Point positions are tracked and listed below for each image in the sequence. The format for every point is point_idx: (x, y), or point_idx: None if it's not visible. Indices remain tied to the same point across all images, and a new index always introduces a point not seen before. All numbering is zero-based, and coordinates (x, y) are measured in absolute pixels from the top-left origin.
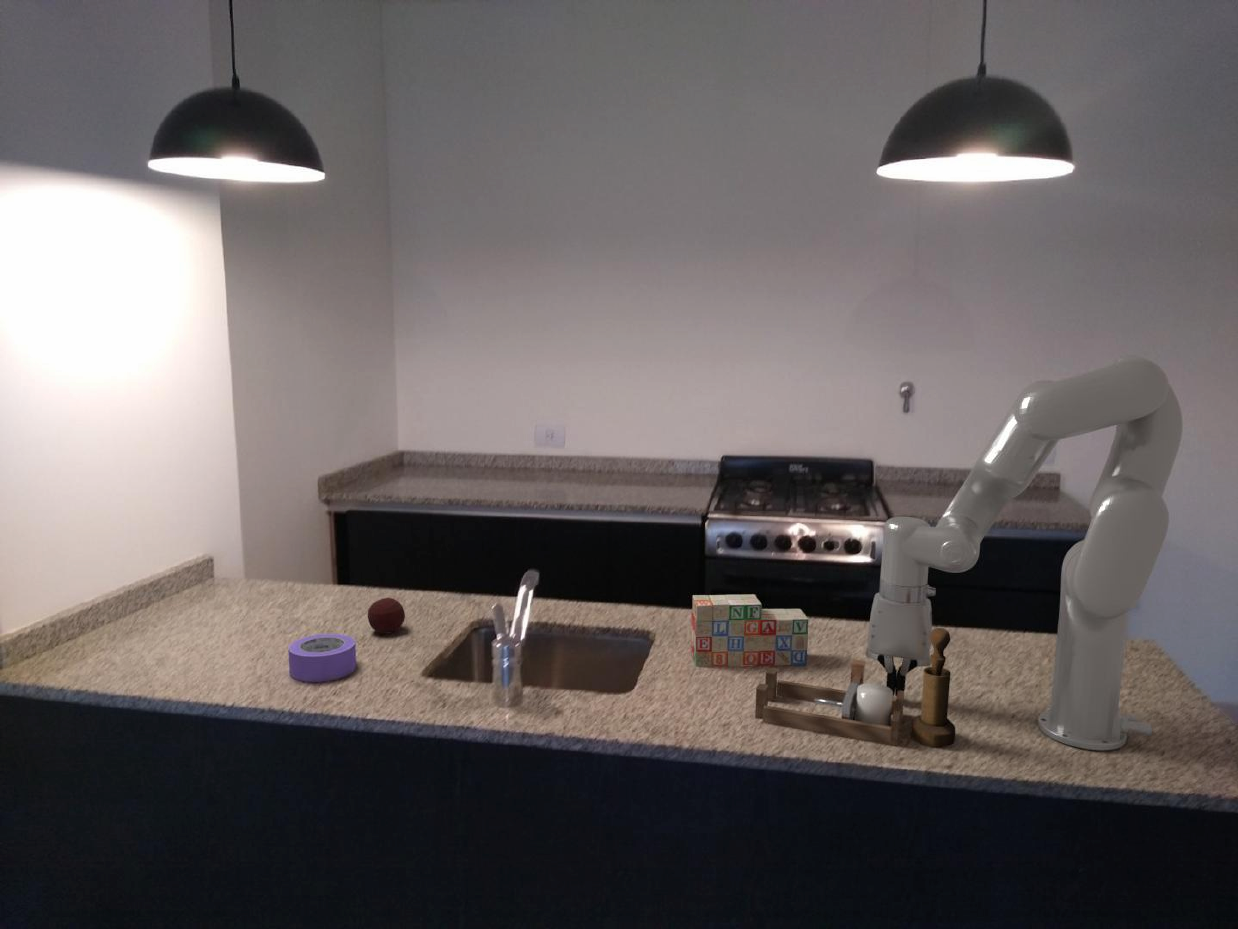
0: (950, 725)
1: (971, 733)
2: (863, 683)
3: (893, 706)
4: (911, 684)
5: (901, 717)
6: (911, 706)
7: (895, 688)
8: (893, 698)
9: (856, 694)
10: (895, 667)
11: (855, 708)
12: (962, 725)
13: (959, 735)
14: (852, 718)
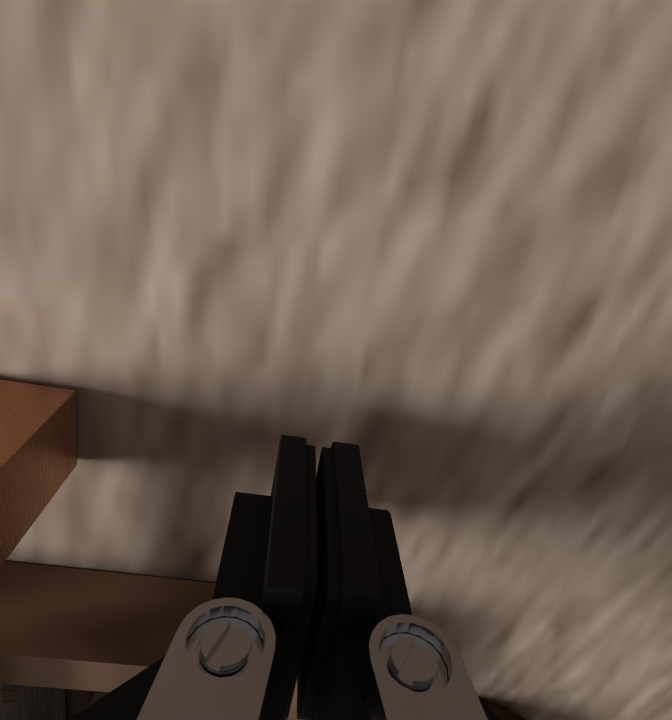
0: None
1: (644, 692)
2: (30, 447)
3: None
4: (506, 65)
5: None
6: (412, 492)
7: (314, 449)
8: None
9: (10, 712)
10: (288, 693)
11: None
12: (636, 636)
13: (578, 716)
14: (64, 715)
